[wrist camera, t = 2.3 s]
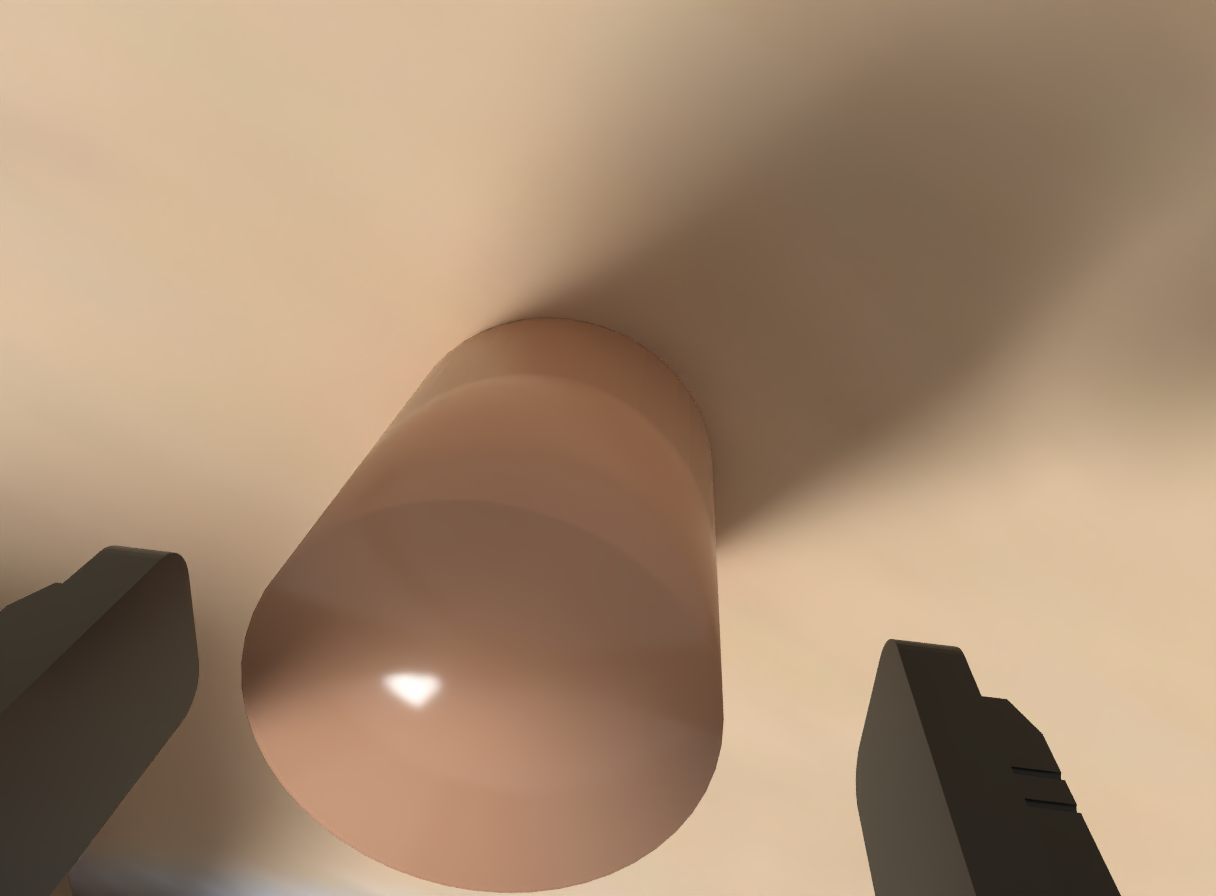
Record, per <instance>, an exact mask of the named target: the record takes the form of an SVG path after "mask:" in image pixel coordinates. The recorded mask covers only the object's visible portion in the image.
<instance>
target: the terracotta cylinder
mask: <svg viewBox="0 0 1216 896" xmlns="http://www.w3.org/2000/svg"><path fill="white" fill-rule="evenodd" d="M241 666H242V691H243V697H244V703H245V708H246V714H247V717H248V720H249V723H250V726H251V729H252V732H253V735H254V738H255V740H256V742H257V744H258V746H259V748H260V750H261V752H262V754H263V756H264V758H265V760H266V762H267V763H268V765H269V766H270V768H271V770H272V771H273V773H274V774H275V776H276V777H277V779H278V780H279V782H280V783H281V784H282V786H283V787H284V788H285V789H286V790H287V791H288V793H289V794H290V795H291V796H292V797H293V799H294V800H295V801H296V802H297V803H298V804H299V805H300V806H301V807H302V808H303V809H304V810H305V811H306V812H307V813H308V814H309V815H310V816H311V817H312V818H313V819H314V820H315V821H317V822H318V823H319V824H320V825H321V826H323V827H324V828H325V829H327V830H328V831H329V832H331V833H332V834H333V835H334V836H336V837H337V838H338V839H340V840H341V841H343V842H344V843H346V844H348V845H349V846H351V847H352V848H354V849H356V850H357V851H359V852H361V853H362V854H364V855H366V856H368V857H370V858H372V859H374V860H376V861H378V862H380V863H382V864H384V865H386V866H388V867H390V868H393V869H395V870H398V871H401V872H403V873H406V874H409V875H411V876H414V877H417V878H420V879H423V880H427V881H431V882H434V883H438V884H442V885H445V886H451V887H457V888H462V889H468V890H474V891H486V892H499V893H517V892H537V891H546V890H554V889H561V888H565V887H569V886H574V885H578V884H583V883H586V882H589V881H592V880H595V879H598V878H601V877H604V876H607V875H610V874H612V873H614V872H616V871H618V870H620V869H622V868H624V867H627V866H629V865H631V864H633V863H635V862H636V861H638V860H639V859H641V858H642V857H644V856H646V855H647V854H649V853H650V852H652V851H653V850H655V849H656V848H658V847H659V846H660V845H661V844H662V843H663V842H665V841H666V840H667V839H668V838H669V837H670V836H672V835H673V834H674V833H675V832H676V831H677V830H678V829H679V828H680V826H681V825H682V824H683V823H684V822H685V821H686V820H687V818H688V817H689V816H690V815H691V814H692V813H693V811H694V809H695V808H696V806H697V805H698V803H699V802H700V800H701V798H702V797H703V795H704V794H705V792H706V790H707V788H708V785H709V783H710V781H711V778H712V776H713V774H714V771H715V769H716V765H717V761H718V757H719V753H720V749H721V745H722V732H723V720H724V718H723V695H722V672H721V649H720V626H719V603H718V579H717V556H716V533H715V510H714V487H713V465H712V453H711V446H710V441H709V437H708V432H707V429H706V426H705V423H704V421H703V418H702V416H701V413H700V411H699V409H698V407H697V405H696V403H695V402H694V400H693V398H692V396H691V394H690V393H689V391H688V390H687V389H686V387H685V386H684V385H683V383H682V382H681V381H680V379H679V378H678V377H677V376H676V375H675V374H674V372H673V371H672V370H671V369H670V368H669V367H668V366H667V365H666V364H665V363H664V362H663V361H661V360H660V359H659V358H658V357H656V356H655V355H654V354H653V353H651V352H650V351H649V350H648V349H646V348H645V347H643V346H641V345H640V344H638V343H636V342H635V341H633V340H631V339H630V338H628V337H626V336H624V335H621V334H619V333H617V332H615V331H612V330H610V329H608V328H604V327H601V326H598V325H594V324H591V323H588V322H582V321H576V320H570V319H559V318H537V319H526V320H519V321H515V322H511V323H506V324H502V325H499V326H496V327H494V328H491V329H488V330H486V331H483V332H481V333H479V334H477V335H475V336H473V337H472V338H470V339H468V340H466V341H464V342H463V343H461V344H460V345H459V346H457V347H456V348H455V349H453V350H452V351H450V352H449V353H448V354H447V355H446V356H445V357H444V358H443V359H442V360H441V361H440V362H439V363H438V364H437V365H436V366H435V367H434V368H433V369H432V370H431V372H430V373H429V374H428V376H427V377H426V378H425V380H424V381H423V382H422V384H421V385H420V386H419V388H418V389H417V390H416V392H415V393H414V394H413V396H412V397H411V398H410V399H409V401H408V402H407V403H406V405H405V406H404V407H403V409H402V410H401V411H400V413H399V414H398V415H397V417H396V418H395V419H394V421H393V422H392V423H391V424H390V426H389V427H388V428H387V430H386V431H385V432H384V434H383V435H382V436H381V438H380V439H379V440H378V442H377V443H376V444H375V446H374V447H373V448H372V450H371V451H370V452H369V453H368V455H367V456H366V457H365V459H364V460H363V461H362V463H361V464H360V465H359V467H358V468H357V469H356V471H355V472H354V473H353V475H352V476H351V477H350V479H349V480H348V481H347V482H346V484H345V485H344V486H343V488H342V489H341V490H340V492H339V493H338V494H337V496H336V497H335V498H334V500H333V501H332V502H331V504H330V505H329V506H328V508H327V509H326V510H325V511H324V513H323V514H322V515H321V517H320V518H319V519H318V521H317V522H316V523H315V525H314V526H313V527H312V529H311V530H310V531H309V533H308V534H307V535H306V537H305V538H304V539H303V540H302V542H301V543H300V544H299V546H298V547H297V548H296V550H295V551H294V552H293V554H292V555H291V556H290V558H289V559H288V560H287V562H286V563H285V564H284V565H283V567H282V568H281V569H280V571H279V572H278V573H277V575H276V576H275V577H274V579H273V580H272V581H271V583H270V584H269V585H268V587H267V588H266V589H265V591H264V593H263V595H262V597H261V599H260V601H259V602H258V604H257V606H256V608H255V610H254V612H253V615H252V618H251V621H250V624H249V627H248V630H247V633H246V636H245V642H244V648H243V655H242V662H241Z"/></svg>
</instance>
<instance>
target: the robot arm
mask: <svg viewBox="0 0 1216 896" xmlns="http://www.w3.org/2000/svg"><path fill="white" fill-rule="evenodd" d="M198 676H199V660H198V651H197V643H196V634H195V625H194V617H193V608H192V599H191V591H190V582H189V574H188V568H187V565H186V562H185V561H184V559H183V558H182V556H181V555H179V554H178V553H172V552H164V551H155V550H147V549H138V548H130V547H121V546H109V547H107V548H105V549H103V550H102V551H100V552H99V553H98V554H97V555H96V556H94V557H93V558H92V559H91V560H90V561H89V562H87V563H86V564H85V565H84V566H83V567H82V568H80V569H79V570H78V571H77V572H76V573H75V574H73V575H72V576H71V577H70V578H69V579H68V580H66V581H65V582H64V583H63V584H62V583H54V584H52V585H50V586H48V587H46V588H44V589H41V590H39V591H37V592H35V593H33V594H31V595H29V596H27V597H25V598H23V599H20V600H18V601H16V602H14V603H12V604H10V605H8V606H6V607H5V608H4V609H3V610H2V611H0V896H50V895H51V893H52V892H53V891H54V890H55V888H56V887H57V886H58V884H59V883H60V882H61V880H62V879H63V878H64V876H65V875H66V874H67V872H68V871H69V870H70V868H71V867H72V866H73V864H74V863H75V862H76V861H77V859H78V858H79V857H80V855H81V854H82V853H83V851H84V850H85V849H86V847H87V846H88V845H89V843H90V842H91V841H92V839H93V838H94V837H95V835H96V834H97V833H98V832H99V830H100V829H101V828H102V826H103V825H104V824H105V822H106V821H107V820H108V818H109V817H110V816H111V814H112V813H113V812H114V810H115V809H116V808H117V807H118V805H119V804H120V803H121V801H122V800H123V799H124V797H125V796H126V795H127V793H128V792H129V791H130V789H131V788H132V787H133V785H134V784H135V783H136V781H137V780H138V779H139V778H140V776H141V775H142V774H143V772H144V771H145V770H146V768H147V767H148V766H149V764H150V763H151V762H152V760H153V759H154V758H155V756H156V755H157V754H158V753H159V751H160V750H161V749H162V747H163V746H164V745H165V743H166V742H167V741H168V739H169V738H170V737H171V735H172V734H173V733H174V731H175V730H176V729H177V727H178V726H179V725H180V724H181V722H182V721H183V719H184V718H185V716H186V715H187V713H188V711H189V709H190V706H191V704H192V701H193V699H194V696H195V692H196V688H197V683H198ZM856 797H857V805H858V811H859V816H860V821H861V826H862V831H863V836H864V841H865V846H866V851H867V856H868V861H869V866H870V871H871V876H872V881H873V886H874V891H875V896H1121V895H1120V893H1119V891H1118V889H1117V887H1116V885H1115V883H1114V880H1113V878H1112V876H1111V874H1110V872H1109V870H1108V868H1107V866H1106V864H1105V862H1104V860H1103V858H1102V856H1101V854H1100V852H1099V850H1098V847H1097V845H1096V843H1095V841H1094V839H1093V837H1092V835H1091V833H1090V831H1089V829H1088V827H1087V825H1086V823H1085V821H1084V819H1083V817H1082V814H1081V813H1077V811H1076V806H1077V804H1076V802H1075V800H1074V798H1073V796H1072V794H1071V792H1070V790H1069V788H1068V786H1067V784H1066V781H1065V780H1061V771H1060V769H1059V767H1058V765H1057V763H1056V761H1055V759H1054V757H1053V755H1052V753H1051V751H1050V748H1049V746H1048V744H1047V742H1046V740H1045V738H1044V736H1043V734H1042V733H1041V732H1040V731H1039V730H1038V729H1037V728H1036V727H1035V726H1034V725H1033V724H1032V723H1031V722H1030V721H1029V720H1028V719H1027V718H1026V717H1025V716H1024V715H1023V714H1021V713H1020V712H1019V711H1018V710H1017V709H1016V708H1015V707H1014V706H1013V705H1012V704H1011V703H1010V702H1009V701H1008V700H1007V699H1000V698H992V697H983V696H981V694H980V692H979V689H978V687H977V684H976V682H975V680H974V677H973V675H972V673H971V670H970V668H969V665H968V663H967V661H966V658H965V656H964V654H963V652H962V651H961V649H960V648H958V647H954V646H945V645H937V644H928V643H920V642H911V641H903V640H894V639H889V640H888V641H887V642H886V643H885V645H884V647H883V650H882V653H881V657H880V661H879V665H878V669H877V674H876V678H875V682H874V686H873V691H872V695H871V699H870V703H869V708H868V712H867V716H866V720H865V725H864V729H863V733H862V737H861V742H860V746H859V751H858V758H857V768H856Z"/></svg>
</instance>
